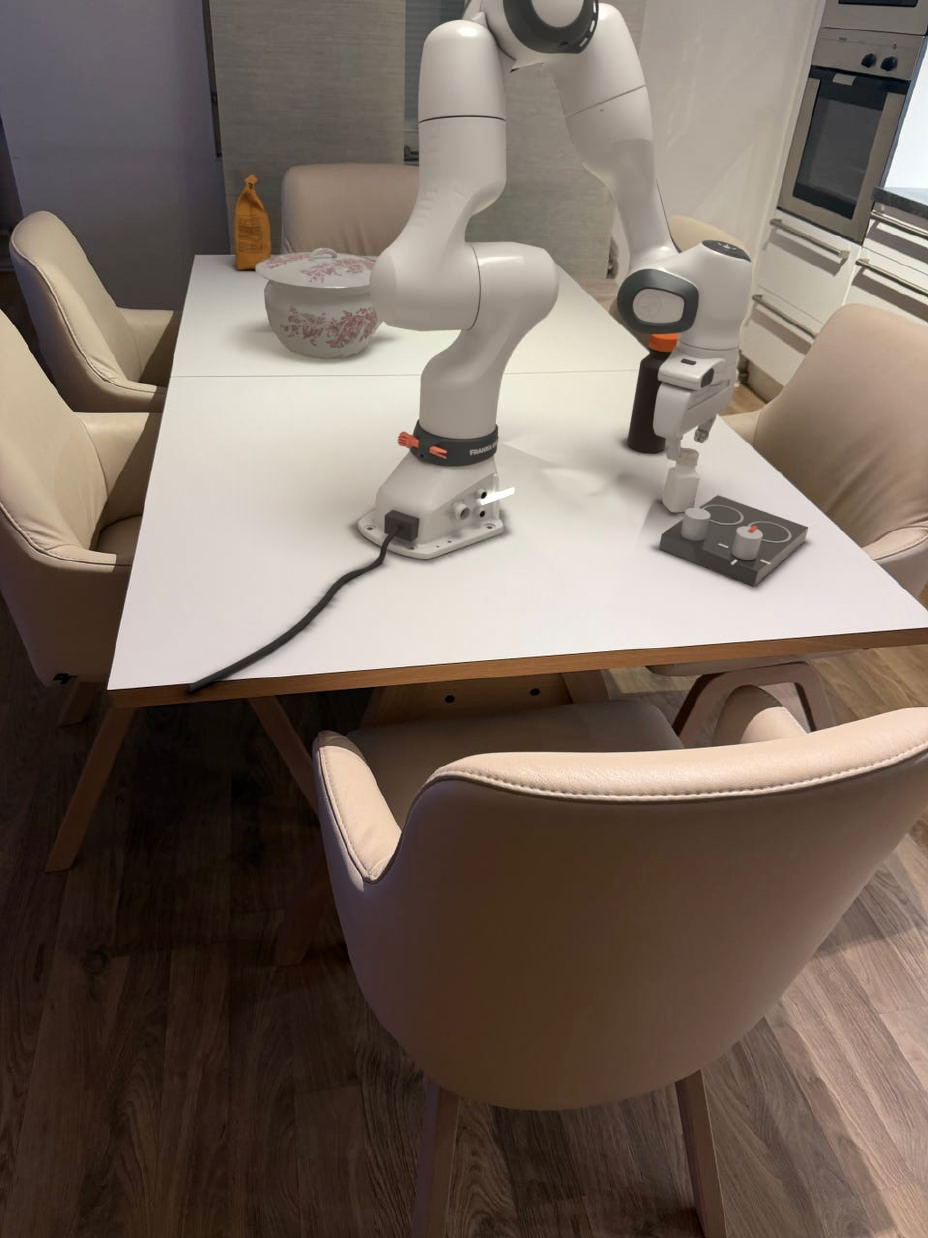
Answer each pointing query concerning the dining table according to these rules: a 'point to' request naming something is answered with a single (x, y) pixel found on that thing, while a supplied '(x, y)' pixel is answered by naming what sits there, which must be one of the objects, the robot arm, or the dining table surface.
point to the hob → (720, 541)
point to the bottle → (649, 395)
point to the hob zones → (726, 523)
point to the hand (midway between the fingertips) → (687, 449)
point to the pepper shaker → (682, 482)
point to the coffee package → (251, 229)
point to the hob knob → (747, 543)
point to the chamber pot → (320, 302)
